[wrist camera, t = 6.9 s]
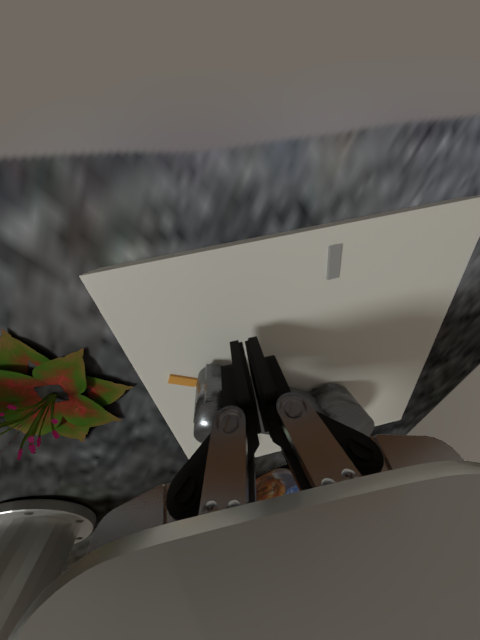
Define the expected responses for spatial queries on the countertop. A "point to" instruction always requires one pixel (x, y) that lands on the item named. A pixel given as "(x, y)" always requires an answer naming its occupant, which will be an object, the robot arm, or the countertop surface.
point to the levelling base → (295, 307)
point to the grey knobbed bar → (323, 399)
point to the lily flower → (49, 415)
